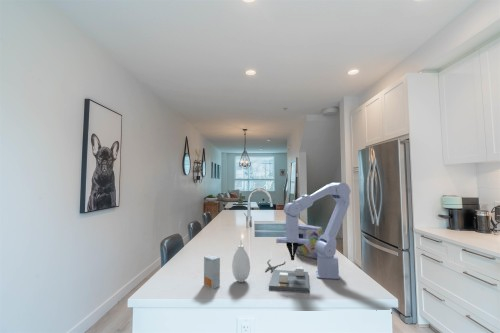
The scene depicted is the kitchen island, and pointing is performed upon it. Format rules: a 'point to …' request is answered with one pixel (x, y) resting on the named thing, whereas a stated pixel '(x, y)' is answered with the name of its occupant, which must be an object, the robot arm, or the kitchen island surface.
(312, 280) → the kitchen island surface
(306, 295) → the kitchen island surface
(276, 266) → the pliers
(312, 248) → the cake pan box
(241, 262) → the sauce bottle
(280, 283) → the panel
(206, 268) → the skincare box
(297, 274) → the far tab
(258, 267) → the kitchen island surface
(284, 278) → the white rectangular block
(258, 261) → the kitchen island surface
